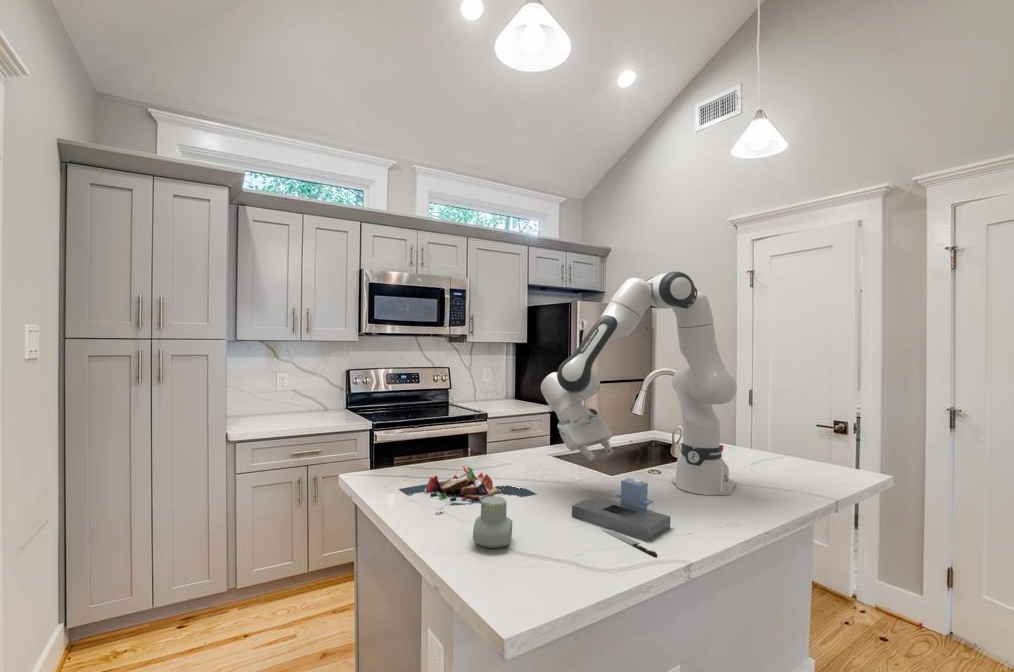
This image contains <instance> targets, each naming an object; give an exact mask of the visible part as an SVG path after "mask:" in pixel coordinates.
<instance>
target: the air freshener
mask: <svg viewBox="0 0 1014 672" xmlns="http://www.w3.org/2000/svg"><path fill="white" fill-rule="evenodd" d="M472 531H473V532H472V540H473V541H474V542H475V543H476V544H478V545H480V546H482V547H484V548H488V549H496V548H497V549H498V548H501V547H502V548H503V547H505V546H508V545H509V544H510V543H511V542H512V541H511V540H512V537H513V536H512V534H513V520H512V519H511V518H510V517H509V516H508V515H507V500H506V499H505V498H504V497H502V496H495V495H493V496H490V497H485V498H483V499H482V500H481V504H480V516H478V517H476V519H475V521H474V524H473V530H472Z"/></svg>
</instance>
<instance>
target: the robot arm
mask: <svg viewBox="0 0 1014 672" xmlns="http://www.w3.org/2000/svg"><path fill="white" fill-rule="evenodd" d="M649 308H652V309H671V310H672V312H674V315H675V318H676V329H677V336H678V337H677V338H678V342H679V343H678V344H679V350H680V353H681V355H682V356H683V357H684V358H685V360H686V362H687V364H688V366H686V367H683V368H680V369H677V370H676V371H675V373H674V374H673V377H672V380H671V383H672V385H671V386H672V388H673V390H674V391H675V392H676V395H677V398H678V400H679V405H680V408H681V409H680V410H681V414H682V442H681V446H680V451H681V452H680V453H681V456H679V457H678V458H677V459H676V468H675V469H676V470H675V477H674V478H672V479H671V483H673V484H674V485H675V486H676V487H677V488H679V489H680V490H683V491H684V492H688V493H691V494H692V493H693V494H698V495H707V496H709V495H711V496H713V495H714V496H716V495H719V496H720V495H721V496H730V495H732V493H733V491H734V489H735V487H736V485H737V481H736V480H734V479H730V475H729V474H730V472H729V471H730V470H729V466H728V465H727V463H726V462H725V461H724V460H723V454H722V453H723V451H724V447H725V446H724V445H723V444H720V441H721V437H720V436H721V423H720V420H719V418H718V416H717V415H716V413H715V410H714V407H713V406H715V405H723V404H728V403H730V402H731V401H732V400H733V399H734V398H735V396H736V394H737V388H738V386H737V382H736V380H735V378H734V377H733V375H731V374H730V372H729V371H728V370H727V369H726V367H725V364H724V362H723V360H722V357H721V355H720V353H719V352H720V351H719V349H718V345H717V339H716V332H715V324H714V317H713V314H712V308H711V305H710V301H709V299H708V296H707V295H706V294H705V293H704V292H702V291H699V290H698V289H697V288H696V286H695V283H694V282H693V280H692V278H691V277H690V276H689V275H688V274H686V273H685V272H681V271H671V272H663V273H660V274H658V275H656V276H652V277H649V278H648V279H646V280H644V279H642V278H640V277H639V278H638V277H629V278H628V279H626V280H625V281H624V282H623V284H621V286H620V287H619V288H618V289H617V291H615V294H614V295H613V296H612V298H611V300H610V301H609V302H608V304H607V306H606V308H605V310H603V312H602V315H600V317H599V318H598V320H597V321H596V322H595V323H594V325H593V326H592V327H591V329H590V330H589V332H588V333H587V334H586V335H585V337H584V339H583V340H582V341H581V343H580V344H579V345H578V347H577V349H576V350H575V351H574V352H573V353H572V354H571V355H569V357H567V358H566V359H565V360H563V361H562V362H561V364H559V367H558V369H557V371H553V372H550V373H549V374H548V375H547V376H545V378H543V380H542V382H541V385H540V390H541V394H542V395H543V397H544V399H545V402H546V403H547V404H548V407H550V409H551V410H553V412H554V413H555V414H556V416H557V419H558V424H557V429H558V431H559V434H560V435H559V436H560V437H561V439H562V441H563V443H564V445H565V447H566V448H567V449H568V450H569V451H571V452H575V451H577V450H578V451H579V452H580V453H581V454H582V455H583V456H585V457H586V459H588V461H590V462H591V461H594V460H595V459H596V457H597V456H596V454H595V453H594V452H593V451H591V450H590V449H589V448H590V447H592V446H595V445H601V446H602V447H604V454H606V455H607V456H611V455H612V454H613V453H614V450H613V449H612V447H611V444H610V441H609V440H611V438H613V432H612V430H611V429H610V426H608V424H607V423H606V422H605V420H604V419H603V418H602V417H601V416H600V412H599V411H598V410H597V409H594V408H590V407H588V406H586V405H584V404H583V403H582V402H583V401H585V400H588V399H589V398H591V397H593V396H594V395H595V394H596V393H598V391H599V390H600V388H601V378H600V375H599V374H598V373H597V372H596V371H595V370H594V369H593V366H594V363H595V361H596V360H597V359H598V358H599V356H600V355H601V353H602V351H603V350H604V349H605V347H606V346H607V345H608V343H609V342H610V341H612V340H615V339H619V338H620V339H621V338H622V339H623V338H625V337H628V336H629V335H631V334H632V333H633V331H634V330H635V329H636V328H637V326H638V324H639V323H640V321H641V320H642V318H643V317H644V314H645V312H646V311H647V310H648V309H649Z"/></svg>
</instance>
